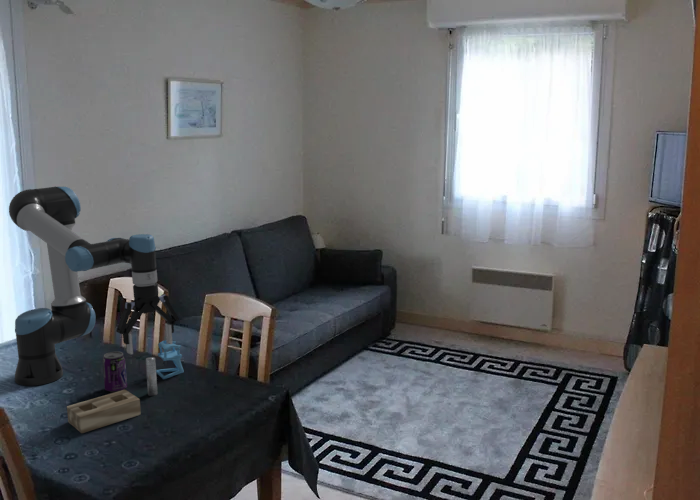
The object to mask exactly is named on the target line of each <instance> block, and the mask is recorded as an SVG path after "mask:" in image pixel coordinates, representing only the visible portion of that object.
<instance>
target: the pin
mask: <svg viewBox="0 0 700 500" xmlns="http://www.w3.org/2000/svg"><path fill="white" fill-rule="evenodd" d="M156 370H157V366H156V357H153V356H150V357H146V358H145V371H146V384H147V396H153V397H154V396H157V395H158V393H159V392H158V381H157V380H158V379H157V378H158V377H157V373H156Z"/></svg>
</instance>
